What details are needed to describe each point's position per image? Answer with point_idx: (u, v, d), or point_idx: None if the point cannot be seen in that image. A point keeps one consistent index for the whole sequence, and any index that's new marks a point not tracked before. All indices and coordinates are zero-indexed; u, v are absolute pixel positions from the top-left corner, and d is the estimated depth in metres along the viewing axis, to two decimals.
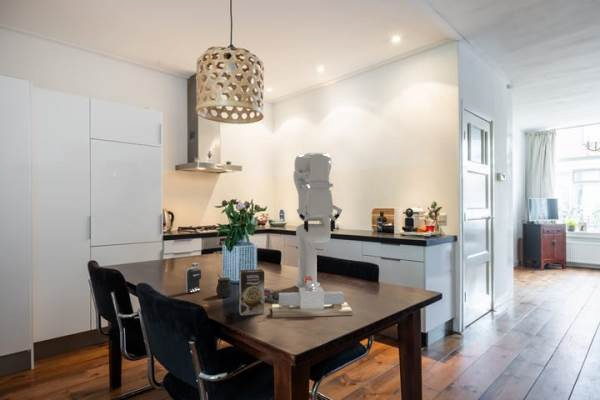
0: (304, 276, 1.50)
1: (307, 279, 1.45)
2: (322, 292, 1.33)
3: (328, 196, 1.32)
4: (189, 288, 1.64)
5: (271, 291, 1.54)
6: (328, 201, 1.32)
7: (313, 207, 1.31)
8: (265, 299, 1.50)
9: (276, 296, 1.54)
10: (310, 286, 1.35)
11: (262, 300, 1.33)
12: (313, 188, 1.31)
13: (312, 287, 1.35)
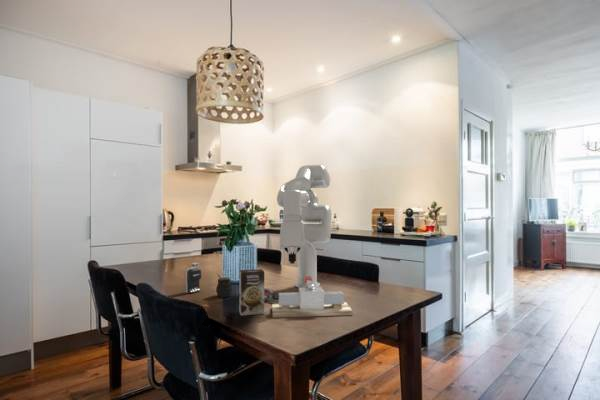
0: (304, 276, 1.50)
1: (307, 279, 1.45)
2: (322, 292, 1.33)
3: (299, 228, 1.45)
4: (189, 288, 1.64)
5: (271, 291, 1.55)
6: (300, 232, 1.44)
7: (286, 238, 1.44)
8: (265, 299, 1.50)
9: (276, 296, 1.54)
10: (310, 286, 1.35)
11: (262, 300, 1.33)
12: (286, 221, 1.44)
13: (312, 287, 1.35)
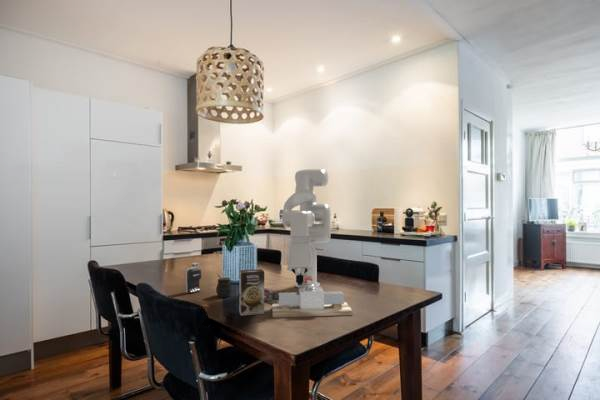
0: (304, 276, 1.50)
1: (307, 279, 1.45)
2: (322, 292, 1.33)
3: (307, 250, 1.45)
4: (189, 288, 1.64)
5: (271, 291, 1.55)
6: (307, 254, 1.45)
7: (293, 260, 1.44)
8: (264, 299, 1.50)
9: (275, 296, 1.54)
10: (310, 286, 1.35)
11: (262, 300, 1.33)
12: (293, 243, 1.44)
13: (312, 287, 1.35)
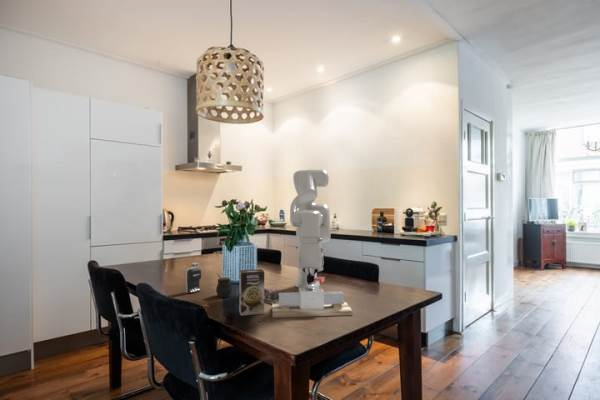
0: None
1: (316, 279, 1.45)
2: (322, 292, 1.33)
3: (316, 250, 1.44)
4: (189, 288, 1.64)
5: (270, 291, 1.54)
6: (316, 254, 1.44)
7: (303, 260, 1.46)
8: None
9: (275, 296, 1.54)
10: (309, 286, 1.35)
11: (262, 300, 1.33)
12: (302, 243, 1.46)
13: (310, 287, 1.35)
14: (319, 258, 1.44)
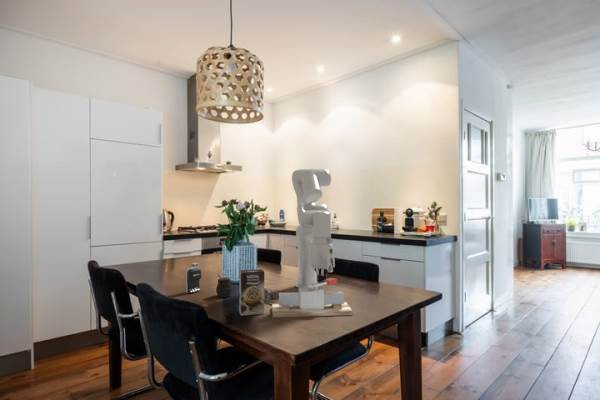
0: None
1: (325, 280, 1.43)
2: (322, 292, 1.33)
3: (324, 251, 1.43)
4: (189, 288, 1.64)
5: (269, 291, 1.54)
6: (324, 255, 1.42)
7: (313, 259, 1.46)
8: None
9: (274, 296, 1.54)
10: (308, 286, 1.35)
11: (262, 300, 1.33)
12: None
13: (309, 287, 1.35)
14: (327, 259, 1.42)
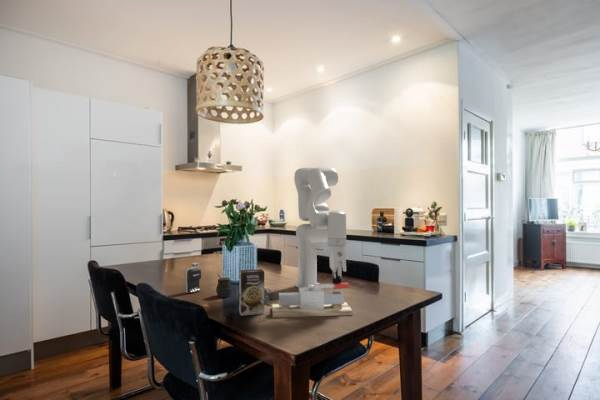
0: None
1: None
2: (322, 292, 1.33)
3: (332, 252, 1.37)
4: (189, 288, 1.64)
5: (268, 291, 1.54)
6: (333, 257, 1.37)
7: (330, 261, 1.43)
8: None
9: (273, 296, 1.53)
10: None
11: (262, 300, 1.33)
12: None
13: None
14: (334, 261, 1.36)
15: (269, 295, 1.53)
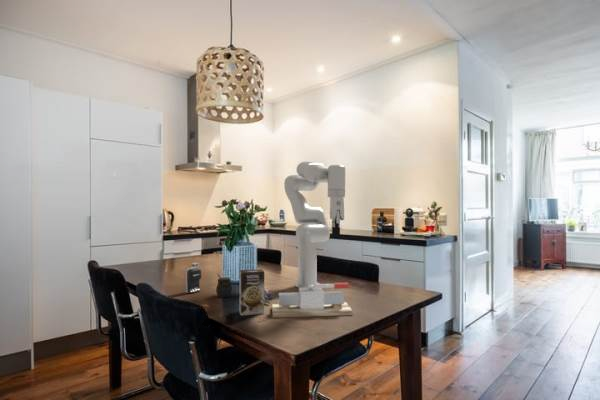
0: None
1: None
2: (322, 292, 1.33)
3: (332, 202, 1.47)
4: (189, 288, 1.64)
5: (267, 291, 1.54)
6: (332, 207, 1.47)
7: None
8: None
9: (272, 297, 1.53)
10: None
11: (262, 300, 1.33)
12: None
13: None
14: (333, 210, 1.46)
15: (268, 295, 1.53)
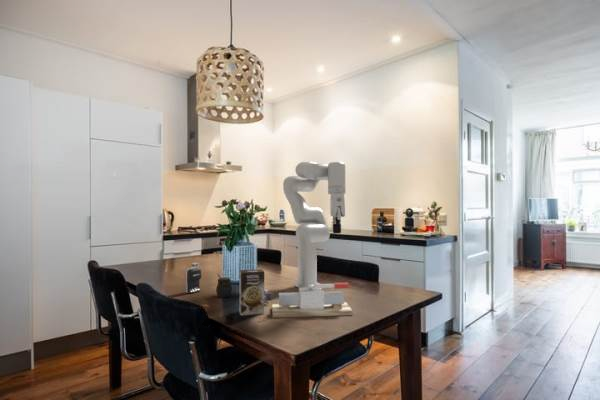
0: None
1: None
2: (322, 292, 1.33)
3: (332, 199, 1.48)
4: (189, 288, 1.64)
5: (266, 291, 1.54)
6: (332, 203, 1.48)
7: (330, 209, 1.54)
8: None
9: (271, 297, 1.53)
10: None
11: (262, 300, 1.33)
12: None
13: None
14: (334, 206, 1.47)
15: (267, 295, 1.53)
